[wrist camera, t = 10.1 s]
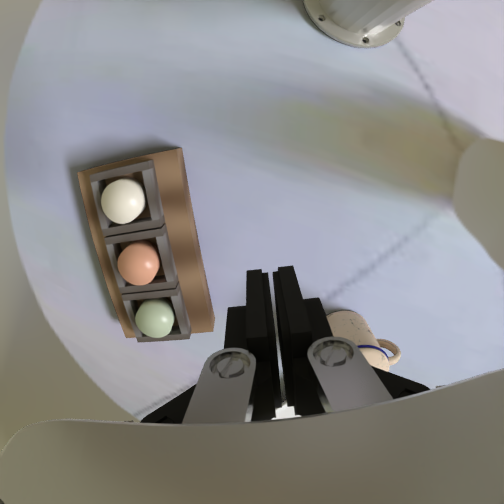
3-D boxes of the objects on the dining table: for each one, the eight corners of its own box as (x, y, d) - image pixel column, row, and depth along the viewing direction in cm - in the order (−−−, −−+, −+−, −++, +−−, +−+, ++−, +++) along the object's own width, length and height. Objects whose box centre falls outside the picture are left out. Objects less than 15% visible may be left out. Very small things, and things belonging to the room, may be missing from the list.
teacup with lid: (305, 361, 45) (319, 421, 34) (309, 310, 42) (328, 368, 31) (380, 353, 45) (407, 406, 34) (391, 303, 42) (427, 353, 31)
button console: (88, 168, 34) (68, 175, 29) (181, 147, 34) (172, 150, 29) (132, 325, 42) (121, 346, 37) (214, 318, 42) (211, 341, 37)
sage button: (136, 297, 36) (130, 307, 34) (170, 293, 36) (166, 304, 34) (146, 327, 38) (141, 338, 36) (179, 325, 38) (176, 336, 36)
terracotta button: (120, 242, 34) (112, 250, 32) (156, 236, 34) (150, 244, 31) (130, 277, 35) (123, 287, 33) (165, 273, 35) (160, 283, 33)
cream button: (106, 181, 31) (97, 185, 29) (143, 173, 31) (135, 177, 29) (115, 220, 33) (106, 226, 31) (151, 213, 33) (144, 220, 31)
